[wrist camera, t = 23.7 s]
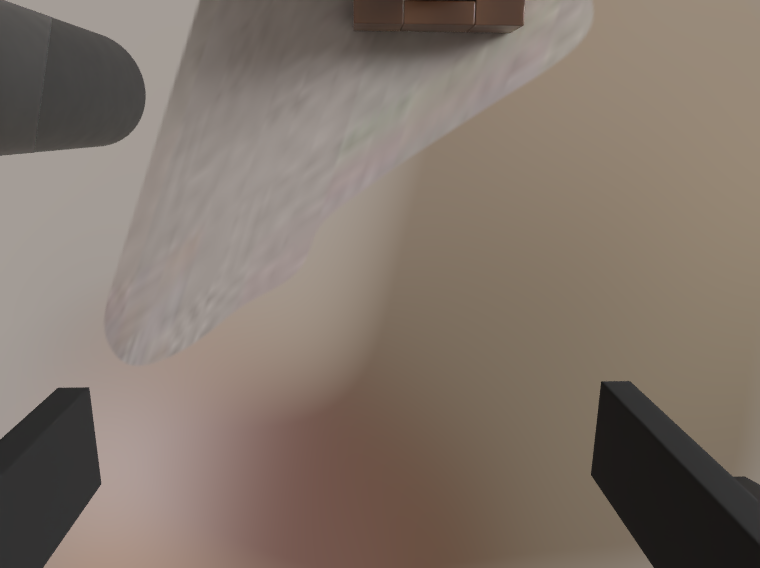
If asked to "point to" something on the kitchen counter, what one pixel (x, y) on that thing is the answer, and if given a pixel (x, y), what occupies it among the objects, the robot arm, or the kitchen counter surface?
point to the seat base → (439, 15)
